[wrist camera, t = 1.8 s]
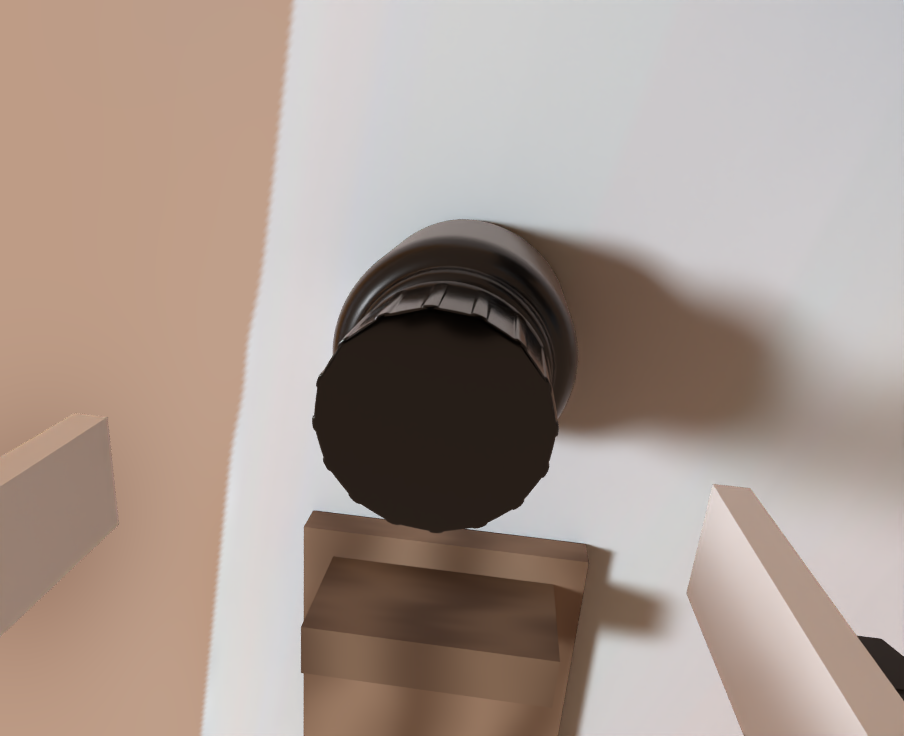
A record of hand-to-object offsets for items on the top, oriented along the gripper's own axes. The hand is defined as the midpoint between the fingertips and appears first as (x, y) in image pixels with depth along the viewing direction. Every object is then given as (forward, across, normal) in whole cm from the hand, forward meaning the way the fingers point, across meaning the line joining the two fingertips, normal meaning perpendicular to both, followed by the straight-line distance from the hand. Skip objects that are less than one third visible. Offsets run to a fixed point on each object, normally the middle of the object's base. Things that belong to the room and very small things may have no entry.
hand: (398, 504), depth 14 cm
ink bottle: (+16, 0, 0) cm, 16 cm away
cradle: (+16, 0, -22) cm, 27 cm away
